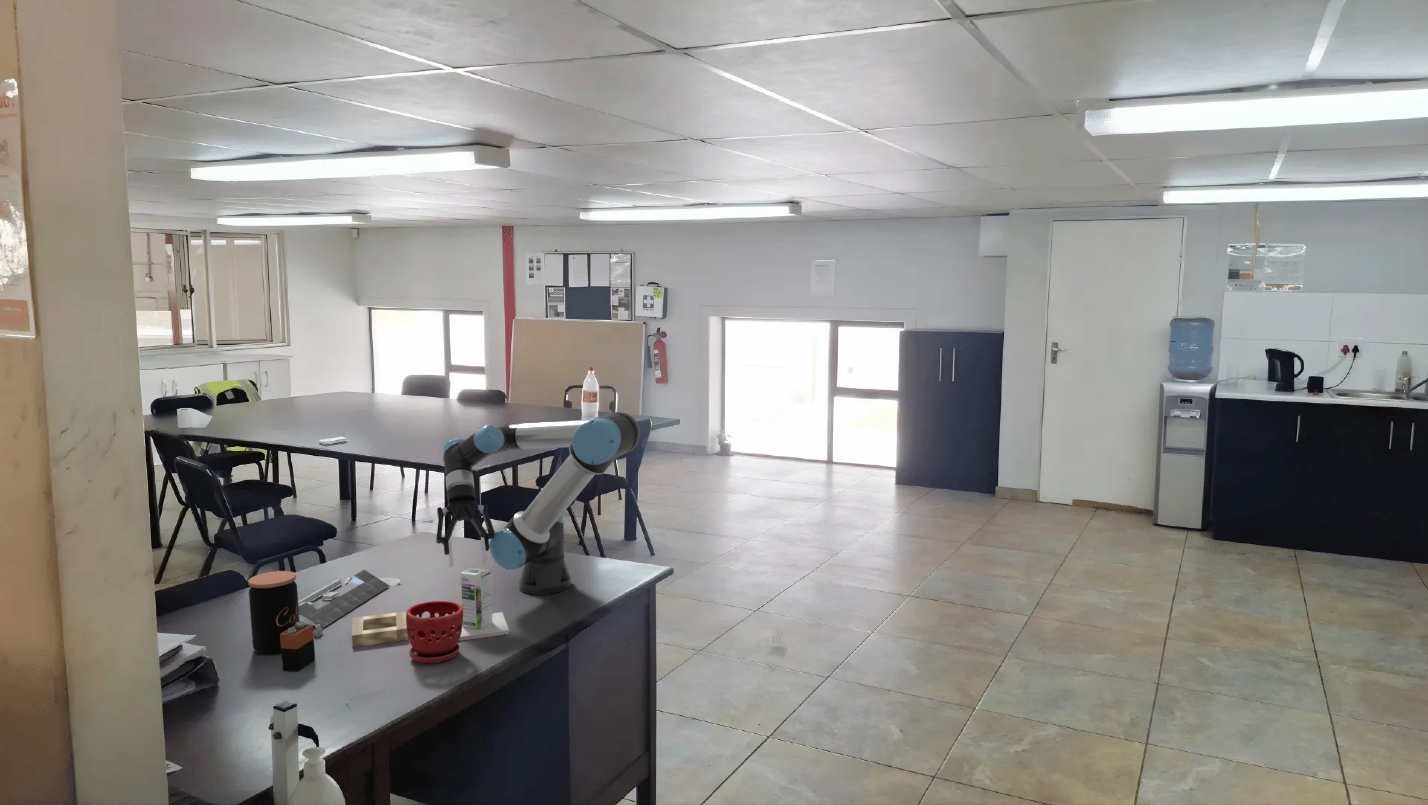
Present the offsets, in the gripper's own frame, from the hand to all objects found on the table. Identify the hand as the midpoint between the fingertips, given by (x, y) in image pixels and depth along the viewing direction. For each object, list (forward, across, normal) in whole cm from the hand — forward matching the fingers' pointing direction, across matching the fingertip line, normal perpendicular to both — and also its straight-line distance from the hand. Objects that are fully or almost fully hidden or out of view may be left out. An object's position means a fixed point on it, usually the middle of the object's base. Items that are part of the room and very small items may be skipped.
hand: (468, 562), depth 240 cm
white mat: (+16, -1, -6) cm, 17 cm away
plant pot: (+27, +10, +5) cm, 29 cm away
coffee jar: (+13, +47, -10) cm, 49 cm away
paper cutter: (-6, +34, -30) cm, 46 cm away
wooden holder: (+13, +23, -10) cm, 28 cm away
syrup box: (+16, -1, -5) cm, 17 cm away
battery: (+23, +41, 0) cm, 47 cm away
